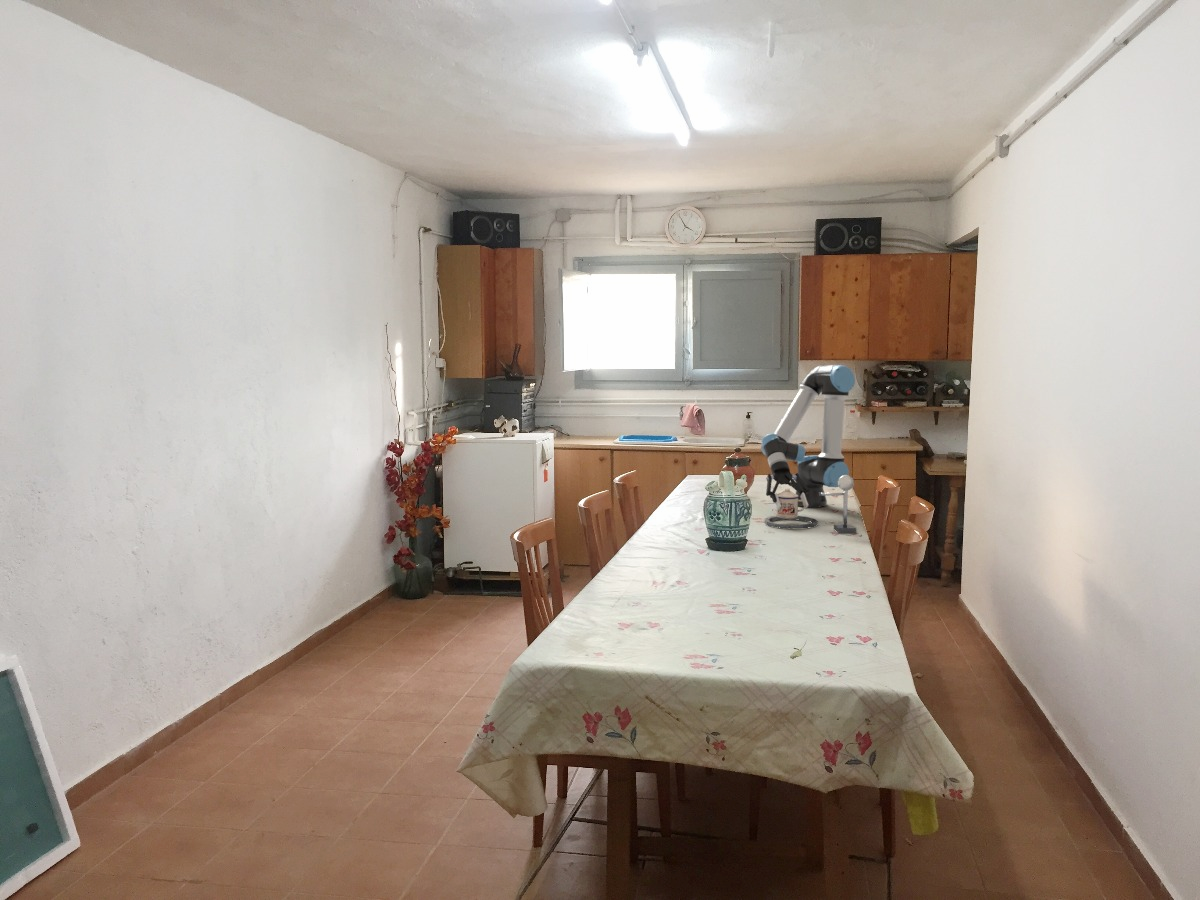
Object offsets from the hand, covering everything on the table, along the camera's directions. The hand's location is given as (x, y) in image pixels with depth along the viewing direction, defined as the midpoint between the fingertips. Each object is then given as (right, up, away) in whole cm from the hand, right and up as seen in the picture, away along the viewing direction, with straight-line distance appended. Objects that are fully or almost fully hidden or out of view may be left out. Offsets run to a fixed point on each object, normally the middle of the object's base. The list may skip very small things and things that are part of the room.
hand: (793, 507), depth 370 cm
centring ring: (0, -7, +4) cm, 8 cm away
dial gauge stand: (+14, -9, -12) cm, 21 cm away
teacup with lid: (0, -4, +3) cm, 5 cm away
